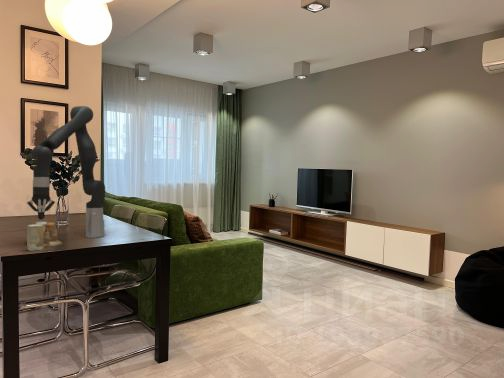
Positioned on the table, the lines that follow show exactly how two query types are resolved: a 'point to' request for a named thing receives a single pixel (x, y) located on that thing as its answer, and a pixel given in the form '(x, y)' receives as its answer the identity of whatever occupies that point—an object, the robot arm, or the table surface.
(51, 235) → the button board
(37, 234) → the skincare box
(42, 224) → the white plug
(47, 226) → the rust plug
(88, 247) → the table surface
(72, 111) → the robot arm
